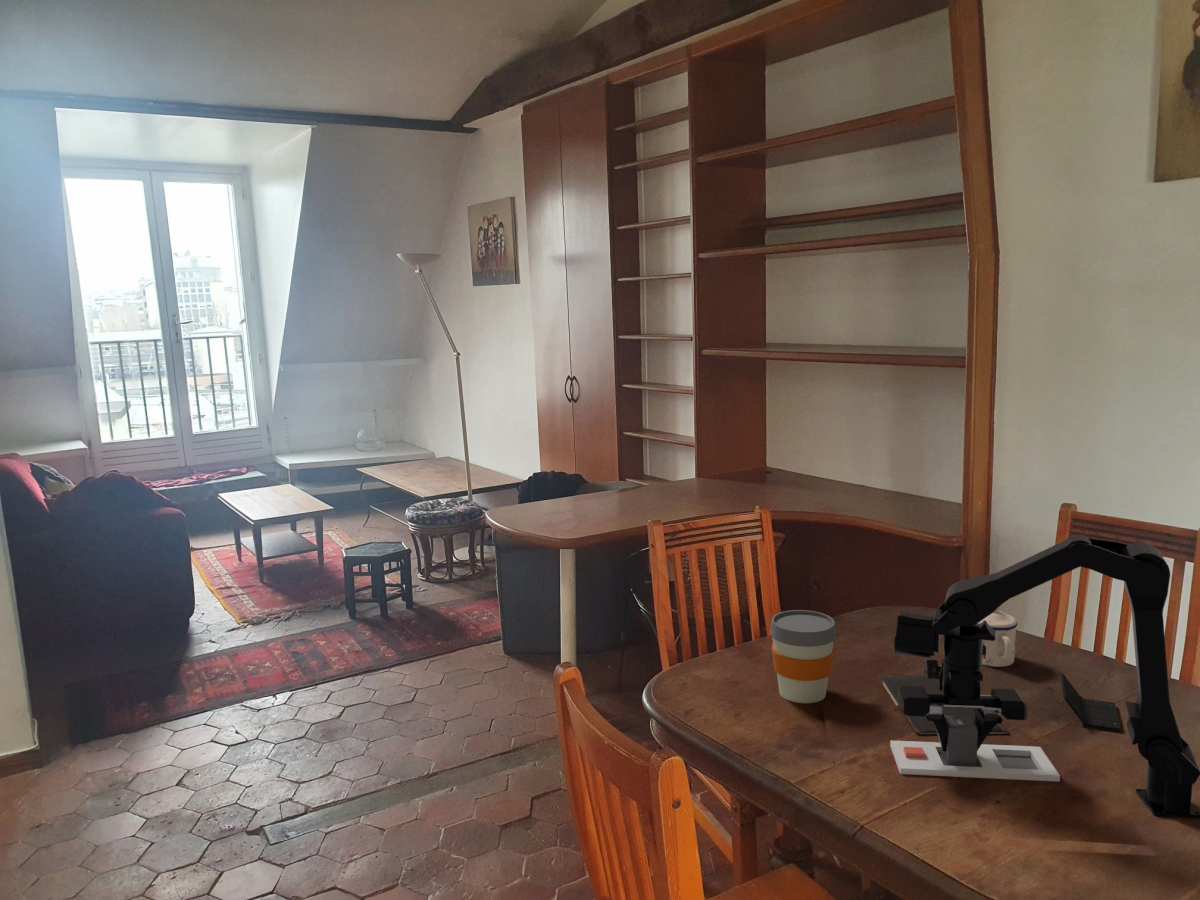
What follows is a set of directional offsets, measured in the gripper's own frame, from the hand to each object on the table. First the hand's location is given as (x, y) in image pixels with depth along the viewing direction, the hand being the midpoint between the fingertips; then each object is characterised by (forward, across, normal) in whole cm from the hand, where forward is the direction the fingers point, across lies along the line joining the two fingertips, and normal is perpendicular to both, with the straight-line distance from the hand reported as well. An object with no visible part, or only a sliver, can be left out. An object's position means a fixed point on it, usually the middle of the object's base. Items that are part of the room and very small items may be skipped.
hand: (958, 750), depth 142 cm
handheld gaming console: (+4, -28, -21) cm, 35 cm away
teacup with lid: (+3, -18, -44) cm, 48 cm away
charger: (+2, 0, 0) cm, 2 cm away
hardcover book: (+4, -2, -21) cm, 21 cm away
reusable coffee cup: (+3, +23, -26) cm, 35 cm away
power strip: (+3, +3, 0) cm, 4 cm away
